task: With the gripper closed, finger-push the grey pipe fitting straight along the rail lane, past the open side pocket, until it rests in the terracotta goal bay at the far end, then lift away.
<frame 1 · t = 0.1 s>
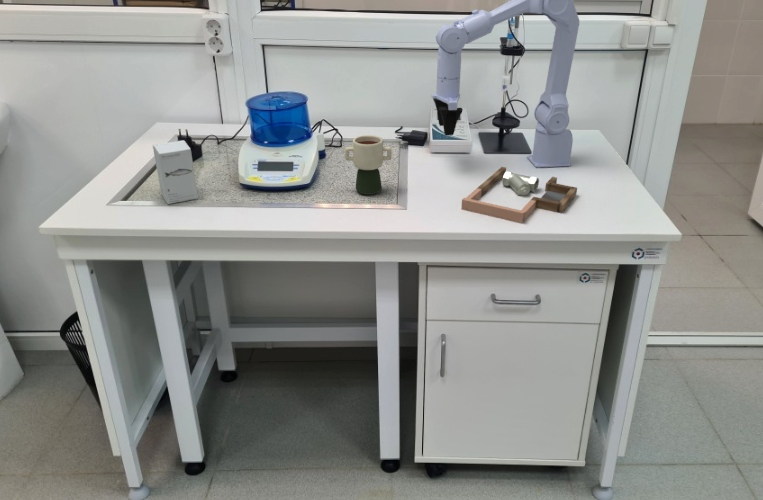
hand: (446, 129, 163), 10 cm above the table, tool pointing down, fingers open, 7 cm apart
character mug: (368, 192, 154), on the table
pipe fitting: (517, 192, 154), on the table
goal bay: (499, 207, 145), on the table
supplement box: (180, 197, 151), on the table
lane: (511, 196, 151), on the table
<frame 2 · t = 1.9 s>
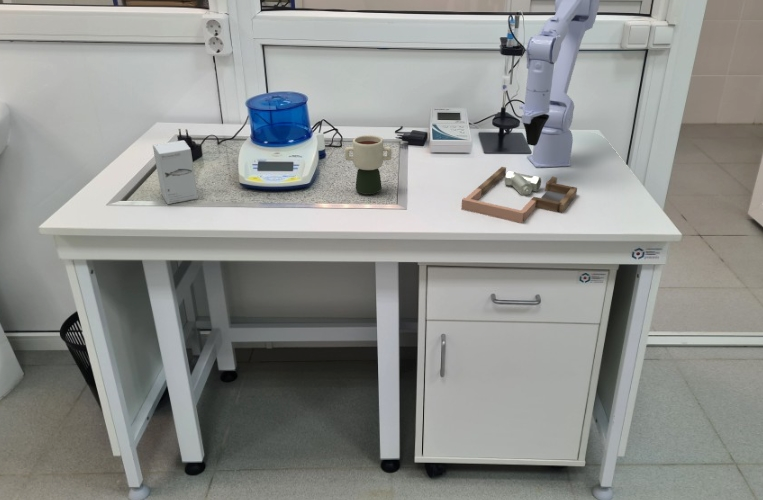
hand: (532, 144, 155), 9 cm above the table, tool pointing down, fingers closed
nothing on the table moved.
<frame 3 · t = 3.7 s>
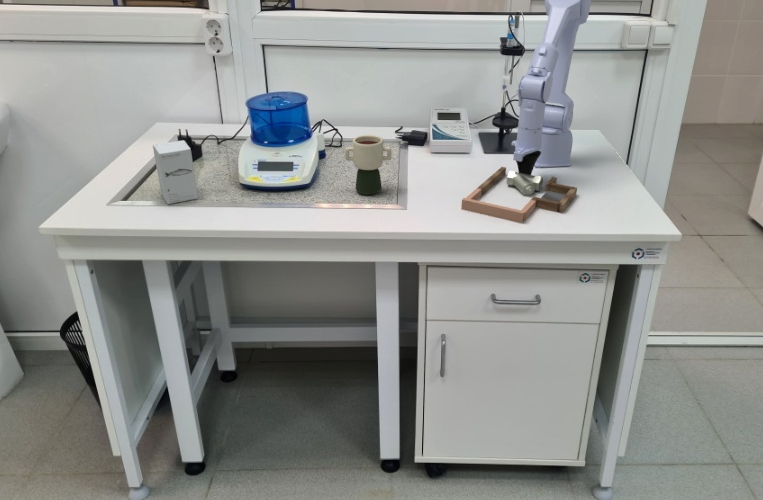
hand: (524, 179, 157), 1 cm above the table, tool pointing down, fingers closed
pipe fitting: (521, 191, 154), on the table, touching gripper
everything else where it was.
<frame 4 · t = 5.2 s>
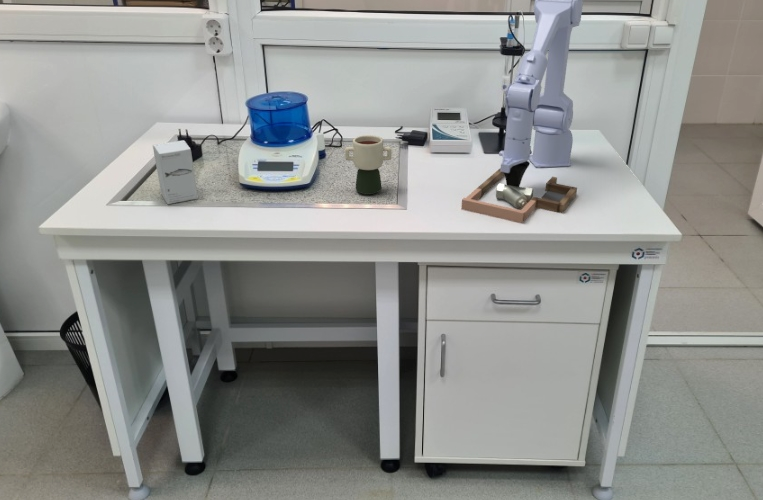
hand: (512, 191, 151), 1 cm above the table, tool pointing down, fingers closed
pipe fitting: (512, 204, 147), on the table
everything else where it was.
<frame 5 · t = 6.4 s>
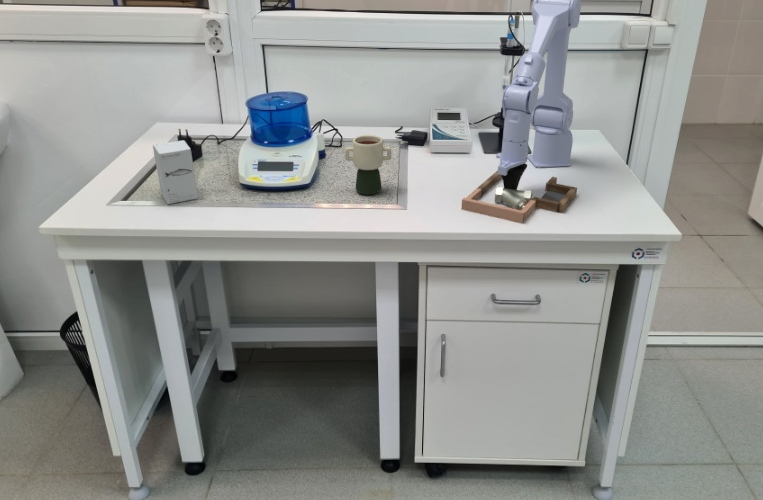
hand: (510, 193, 149), 1 cm above the table, tool pointing down, fingers closed
pipe fitting: (511, 207, 146), on the table
everything else where it was.
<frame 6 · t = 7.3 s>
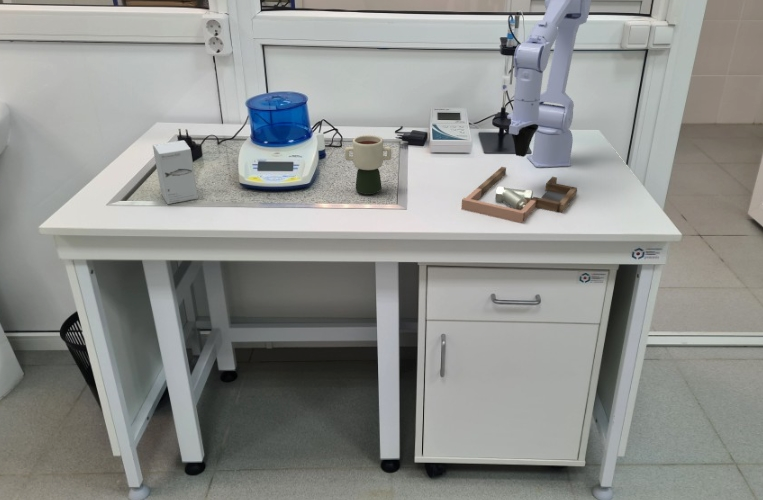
hand: (520, 155, 149), 9 cm above the table, tool pointing down, fingers closed
nothing on the table moved.
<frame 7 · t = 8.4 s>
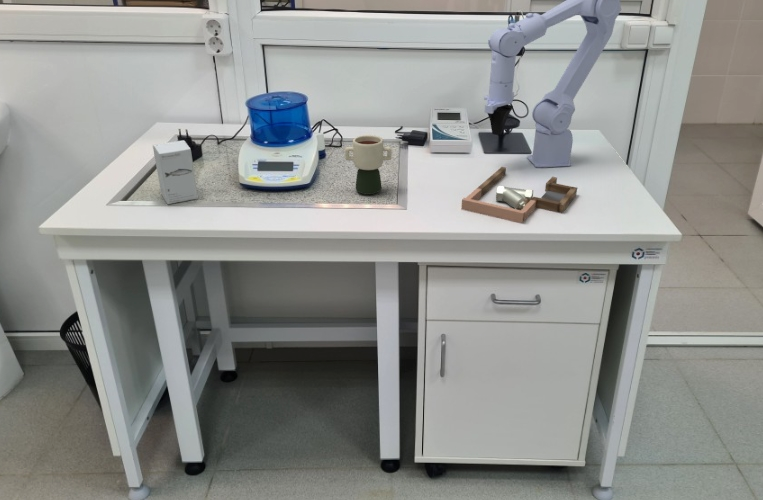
hand: (496, 134, 162), 9 cm above the table, tool pointing down, fingers closed
nothing on the table moved.
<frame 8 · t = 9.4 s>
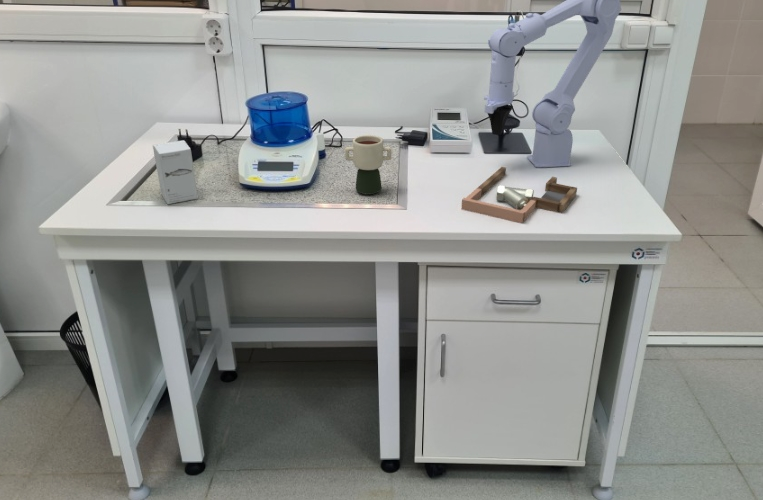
hand: (496, 134, 162), 9 cm above the table, tool pointing down, fingers closed
nothing on the table moved.
at the end: pipe fitting 3.9 cm from the goal bay (horizontally); pipe fitting moved 8.4 cm from its start; pipe fitting on the table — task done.
